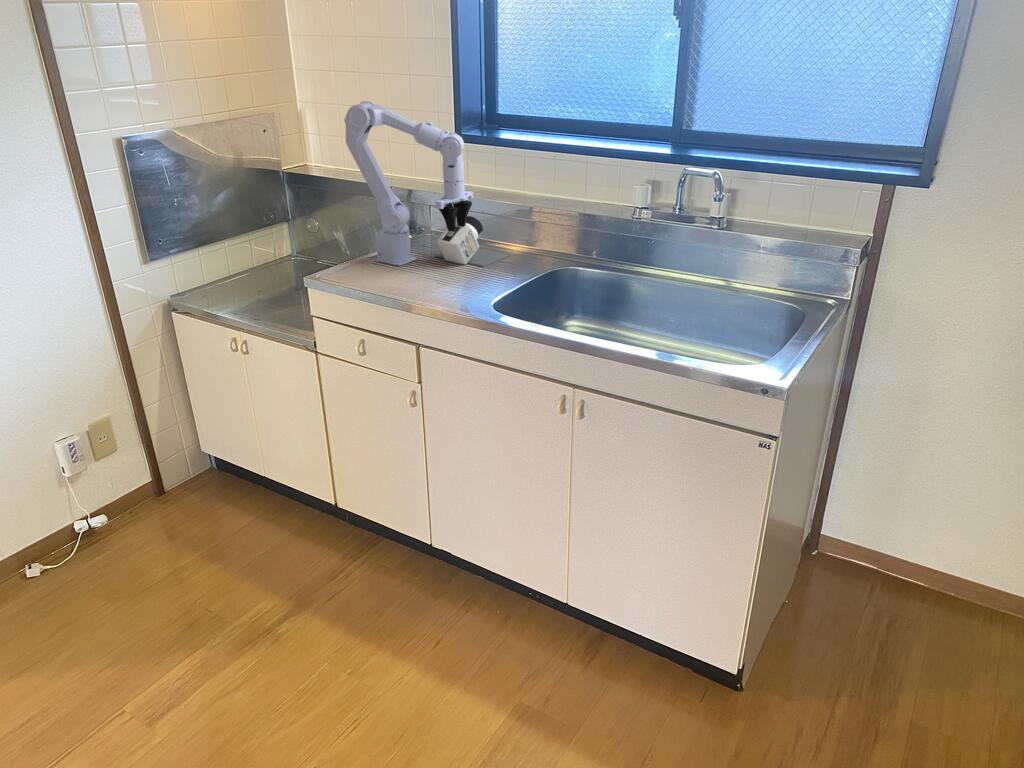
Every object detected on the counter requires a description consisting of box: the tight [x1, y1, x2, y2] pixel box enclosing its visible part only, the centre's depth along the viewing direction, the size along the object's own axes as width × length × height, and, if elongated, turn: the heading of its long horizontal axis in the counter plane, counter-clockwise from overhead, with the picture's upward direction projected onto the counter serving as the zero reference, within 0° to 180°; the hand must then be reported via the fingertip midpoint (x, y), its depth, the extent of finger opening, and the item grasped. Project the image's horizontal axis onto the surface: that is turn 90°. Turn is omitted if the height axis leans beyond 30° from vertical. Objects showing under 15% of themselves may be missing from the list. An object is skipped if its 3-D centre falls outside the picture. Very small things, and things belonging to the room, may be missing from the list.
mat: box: [434, 248, 511, 268], centre depth 229 cm, size 18×13×1 cm
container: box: [436, 215, 484, 266], centre depth 223 cm, size 8×8×13 cm
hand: (456, 228), depth 219 cm, fingers open, 4 cm apart
